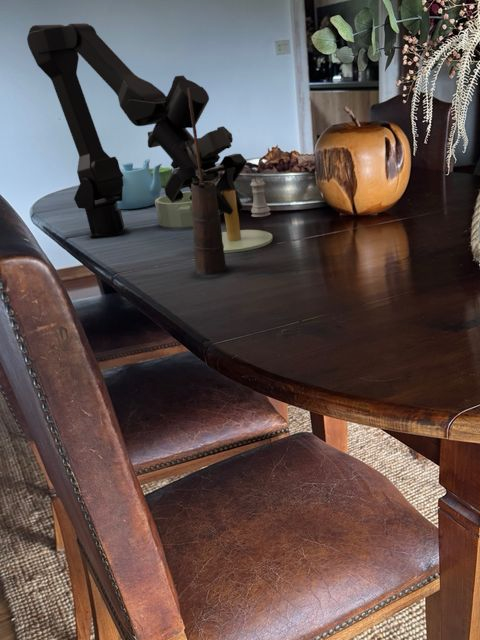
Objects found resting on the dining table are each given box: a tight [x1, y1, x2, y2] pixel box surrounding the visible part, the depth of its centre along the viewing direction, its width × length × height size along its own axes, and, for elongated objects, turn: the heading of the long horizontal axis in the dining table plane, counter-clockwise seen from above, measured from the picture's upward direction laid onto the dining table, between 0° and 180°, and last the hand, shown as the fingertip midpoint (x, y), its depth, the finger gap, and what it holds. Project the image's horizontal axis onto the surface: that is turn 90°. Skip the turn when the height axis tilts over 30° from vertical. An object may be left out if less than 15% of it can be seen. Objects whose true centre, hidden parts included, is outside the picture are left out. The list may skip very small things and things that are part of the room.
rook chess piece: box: [249, 178, 272, 218], centre depth 143 cm, size 4×4×8 cm
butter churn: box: [187, 88, 227, 276], centre depth 102 cm, size 9×10×28 cm
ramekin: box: [149, 166, 173, 188], centre depth 191 cm, size 9×9×4 cm
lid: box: [221, 189, 274, 254], centre depth 122 cm, size 15×15×10 cm
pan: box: [154, 190, 221, 228], centre depth 144 cm, size 14×19×6 cm
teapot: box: [116, 158, 163, 210], centre depth 165 cm, size 15×15×10 cm
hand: (236, 211), depth 121 cm, fingers closed on lid, 2 cm apart
